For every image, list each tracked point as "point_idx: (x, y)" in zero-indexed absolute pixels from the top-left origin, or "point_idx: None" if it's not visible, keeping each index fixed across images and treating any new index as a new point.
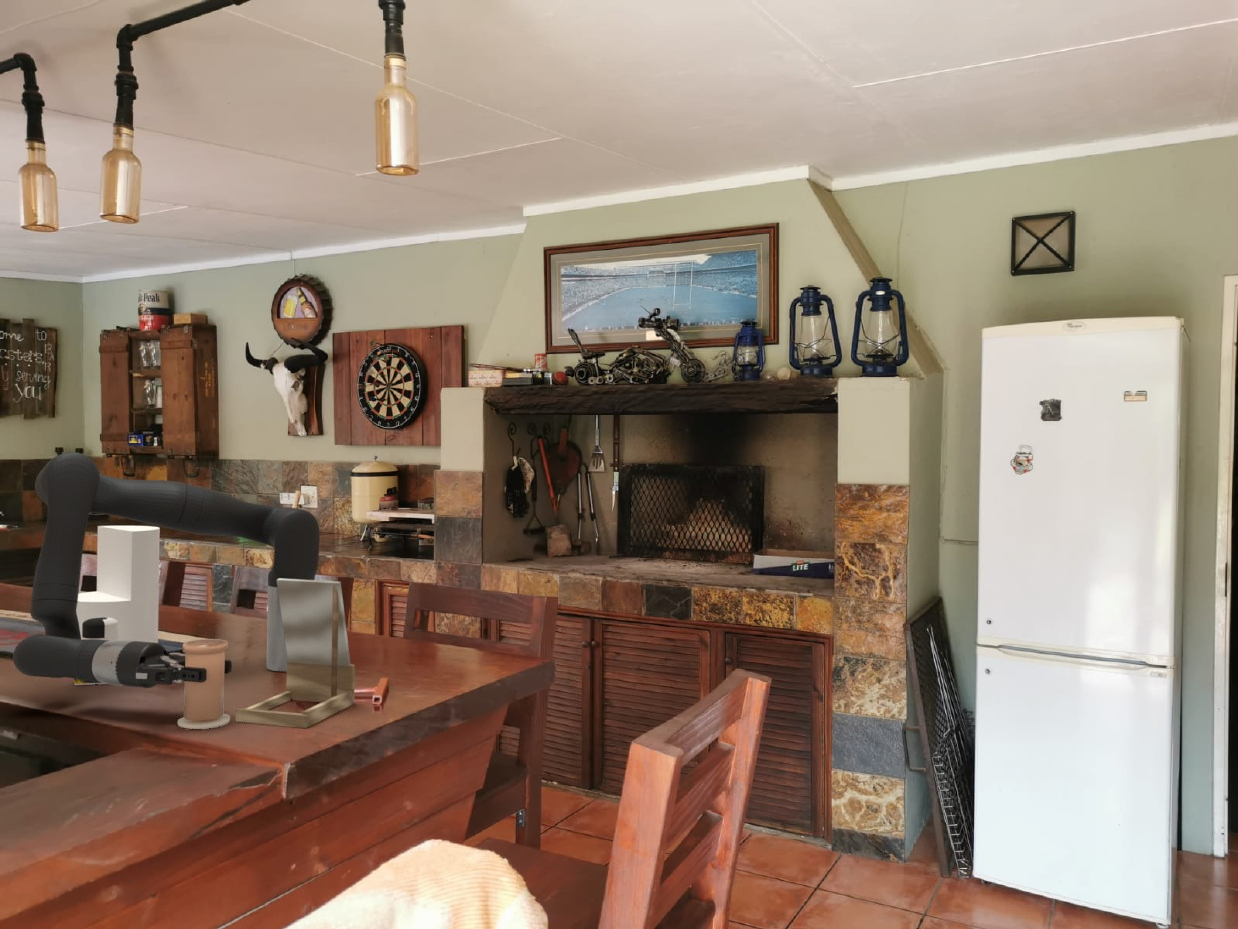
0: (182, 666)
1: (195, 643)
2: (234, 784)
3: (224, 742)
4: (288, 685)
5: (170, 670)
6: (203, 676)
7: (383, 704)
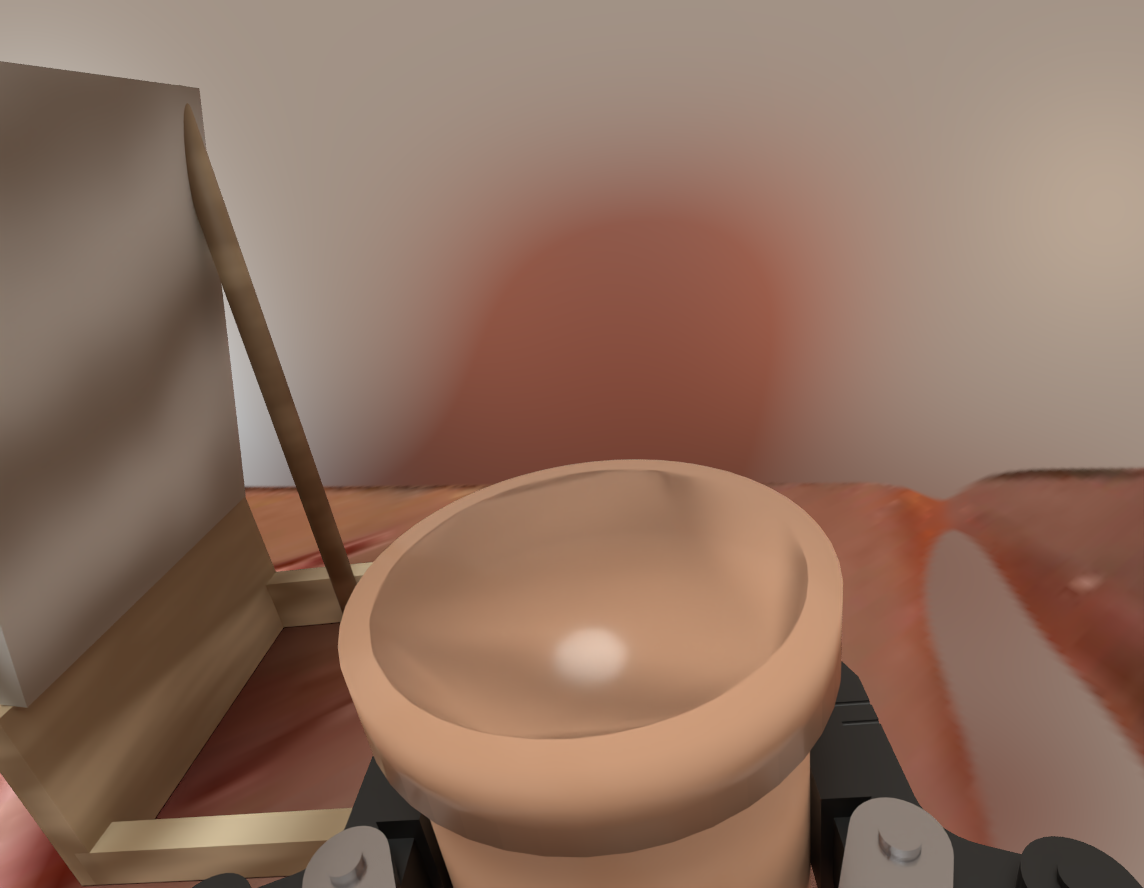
0: (868, 818)
1: (646, 618)
2: (1118, 478)
3: (883, 700)
4: (82, 816)
5: (1075, 847)
6: None
7: (295, 559)
